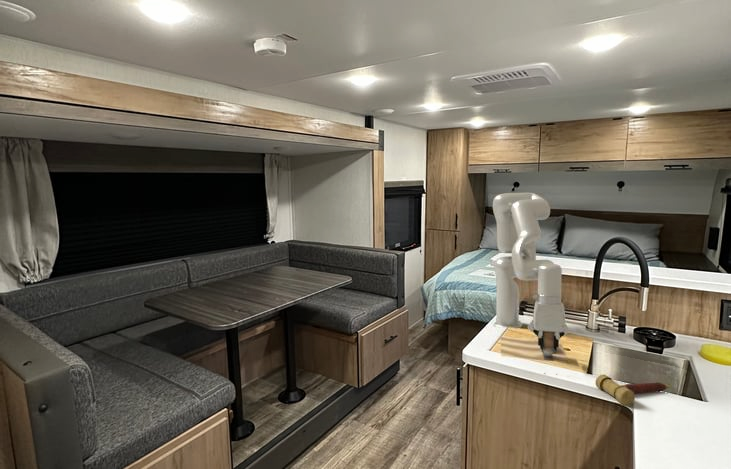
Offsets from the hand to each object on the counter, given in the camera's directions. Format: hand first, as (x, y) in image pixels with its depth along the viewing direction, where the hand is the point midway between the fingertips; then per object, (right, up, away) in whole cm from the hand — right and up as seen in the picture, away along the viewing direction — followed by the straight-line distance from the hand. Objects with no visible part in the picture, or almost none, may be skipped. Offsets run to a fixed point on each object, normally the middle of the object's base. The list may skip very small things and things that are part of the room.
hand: (548, 347), depth 138 cm
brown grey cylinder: (0, -2, 0) cm, 2 cm away
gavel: (+17, -7, -22) cm, 29 cm away
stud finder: (+3, -2, +6) cm, 7 cm away
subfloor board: (-3, -4, +8) cm, 9 cm away
